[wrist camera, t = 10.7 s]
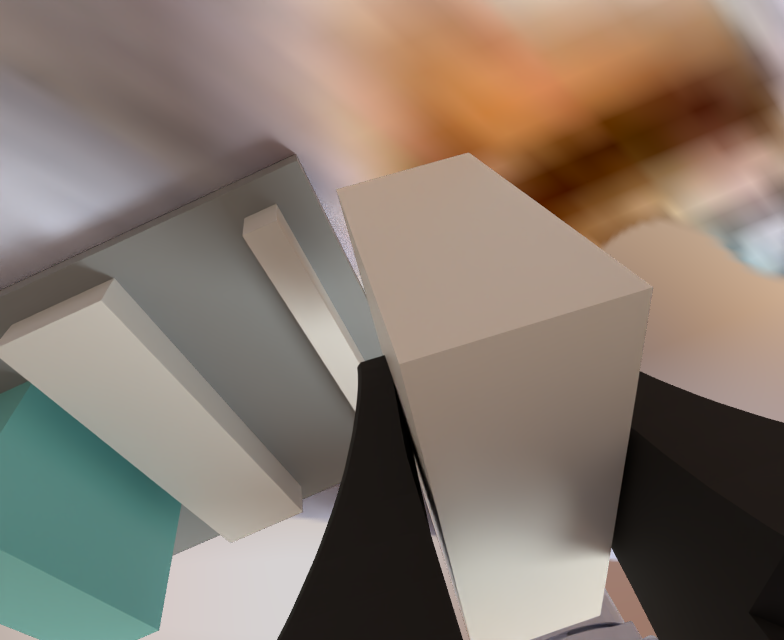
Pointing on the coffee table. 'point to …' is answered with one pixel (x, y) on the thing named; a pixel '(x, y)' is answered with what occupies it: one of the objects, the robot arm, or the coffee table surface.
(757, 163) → the coffee table surface
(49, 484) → the teal rectangular block
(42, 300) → the ribbed slotted plate
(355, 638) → the robot arm
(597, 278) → the beige rectangular block
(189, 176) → the coffee table surface
